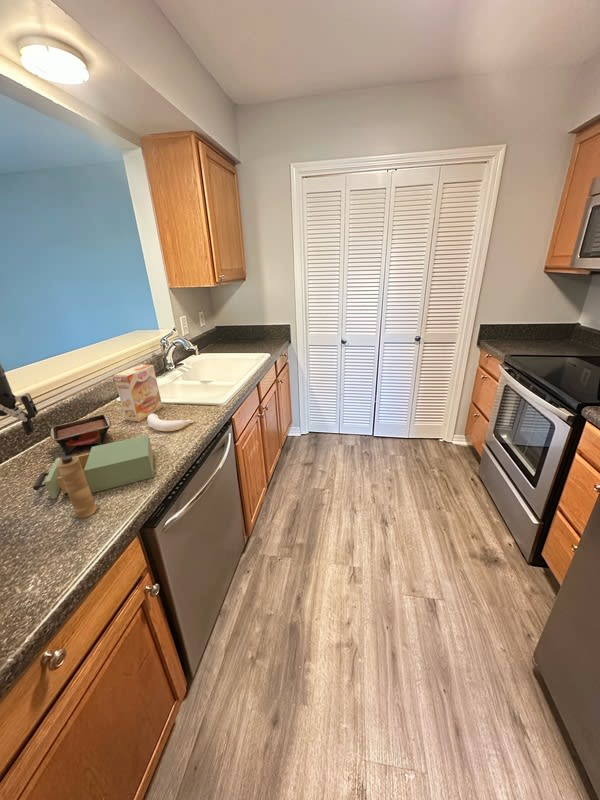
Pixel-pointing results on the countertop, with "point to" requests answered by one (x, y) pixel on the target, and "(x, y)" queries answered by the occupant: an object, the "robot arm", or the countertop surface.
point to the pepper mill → (76, 486)
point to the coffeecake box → (138, 392)
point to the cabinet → (119, 463)
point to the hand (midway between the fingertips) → (9, 437)
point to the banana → (166, 423)
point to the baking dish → (81, 432)
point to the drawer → (56, 478)
